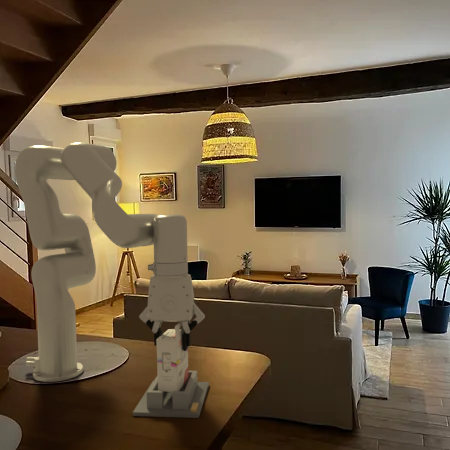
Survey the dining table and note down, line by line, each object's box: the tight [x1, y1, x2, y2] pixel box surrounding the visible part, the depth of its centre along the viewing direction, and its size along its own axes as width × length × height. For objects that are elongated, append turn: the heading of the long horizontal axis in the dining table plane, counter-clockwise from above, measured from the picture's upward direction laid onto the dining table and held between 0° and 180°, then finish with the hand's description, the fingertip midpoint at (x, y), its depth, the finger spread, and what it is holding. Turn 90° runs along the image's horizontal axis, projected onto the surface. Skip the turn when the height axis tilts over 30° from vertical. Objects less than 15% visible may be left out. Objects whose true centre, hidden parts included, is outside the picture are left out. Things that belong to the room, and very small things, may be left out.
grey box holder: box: [132, 370, 210, 419], centre depth 103 cm, size 14×17×4 cm
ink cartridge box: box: [156, 322, 189, 392], centre depth 103 cm, size 9×5×15 cm, turn 168°
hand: (172, 348), depth 103 cm, fingers closed on ink cartridge box, 5 cm apart
